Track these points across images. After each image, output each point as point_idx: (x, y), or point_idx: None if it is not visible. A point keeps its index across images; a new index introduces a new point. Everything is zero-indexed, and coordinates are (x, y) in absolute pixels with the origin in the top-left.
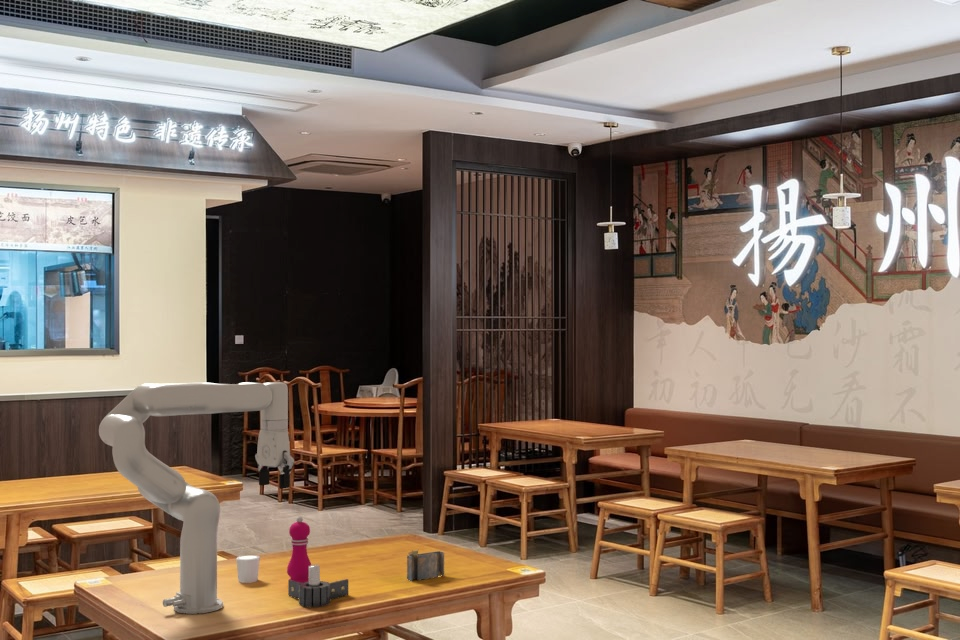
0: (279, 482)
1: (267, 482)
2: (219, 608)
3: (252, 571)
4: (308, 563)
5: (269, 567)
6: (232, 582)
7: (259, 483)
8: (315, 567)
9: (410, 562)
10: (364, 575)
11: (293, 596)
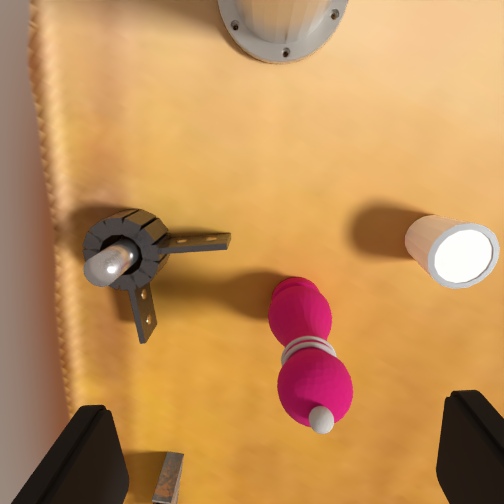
0: (58, 457)
1: (446, 475)
2: (227, 30)
3: (415, 243)
4: (275, 336)
5: (494, 337)
6: (446, 200)
7: (475, 400)
8: (84, 266)
9: (159, 487)
10: (268, 425)
11: (210, 234)
